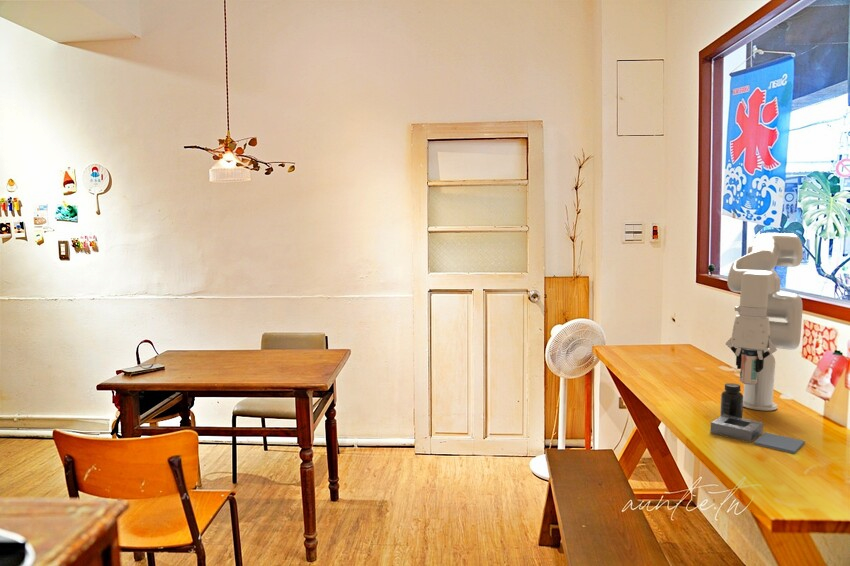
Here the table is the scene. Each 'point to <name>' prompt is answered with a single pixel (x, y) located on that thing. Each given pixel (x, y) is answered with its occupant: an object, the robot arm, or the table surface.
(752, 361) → the beer can
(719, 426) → the gray square frame
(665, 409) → the table surface
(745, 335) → the robot arm
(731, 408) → the supplement bottle
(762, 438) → the mat
